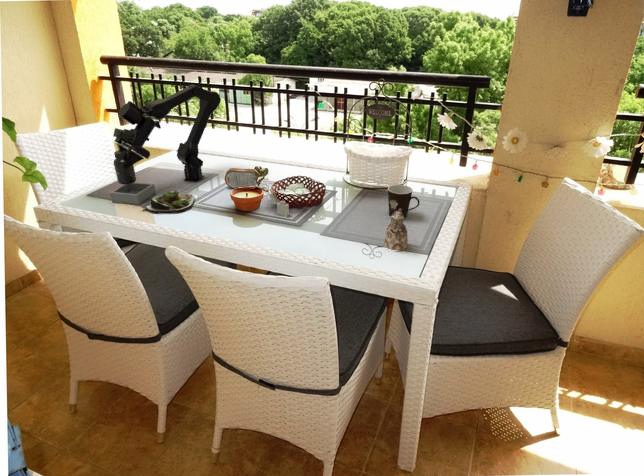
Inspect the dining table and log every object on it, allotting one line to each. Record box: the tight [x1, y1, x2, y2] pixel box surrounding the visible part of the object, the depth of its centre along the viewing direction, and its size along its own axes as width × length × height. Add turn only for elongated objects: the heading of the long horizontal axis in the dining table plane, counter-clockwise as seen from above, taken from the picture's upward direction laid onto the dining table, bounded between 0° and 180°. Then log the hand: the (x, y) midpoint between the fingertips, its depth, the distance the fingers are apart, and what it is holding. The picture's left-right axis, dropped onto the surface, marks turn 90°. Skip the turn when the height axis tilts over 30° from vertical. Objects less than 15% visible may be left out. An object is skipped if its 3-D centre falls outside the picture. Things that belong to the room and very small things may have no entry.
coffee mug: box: [387, 184, 421, 219], centre depth 159 cm, size 12×9×10 cm
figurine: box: [383, 209, 409, 251], centre depth 140 cm, size 7×7×12 cm
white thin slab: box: [268, 191, 290, 217], centre depth 162 cm, size 7×2×8 cm, turn 63°
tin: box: [224, 167, 263, 190], centre depth 184 cm, size 15×3×8 cm, turn 84°
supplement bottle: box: [113, 150, 137, 185], centre depth 172 cm, size 7×7×12 cm
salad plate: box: [141, 189, 196, 215], centre depth 172 cm, size 19×18×5 cm
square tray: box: [109, 182, 156, 206], centre depth 177 cm, size 12×12×4 cm
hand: (120, 166), depth 171 cm, fingers closed on supplement bottle, 7 cm apart
